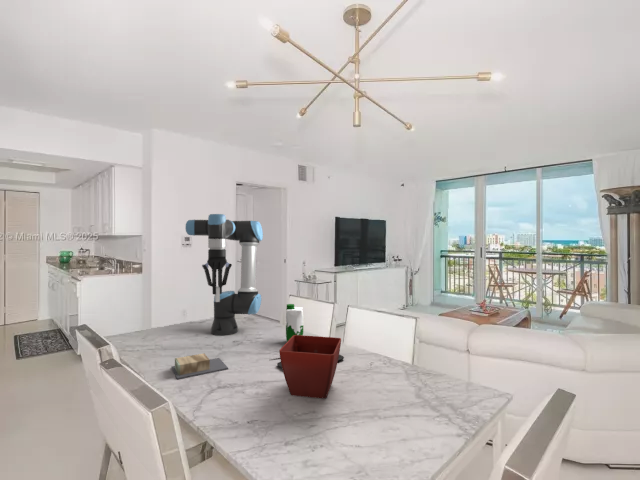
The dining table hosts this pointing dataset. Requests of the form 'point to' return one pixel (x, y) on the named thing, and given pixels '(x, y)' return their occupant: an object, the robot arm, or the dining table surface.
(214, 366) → the rubber mat
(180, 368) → the oak slab
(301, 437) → the dining table surface
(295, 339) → the plant pot
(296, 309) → the milk carton
